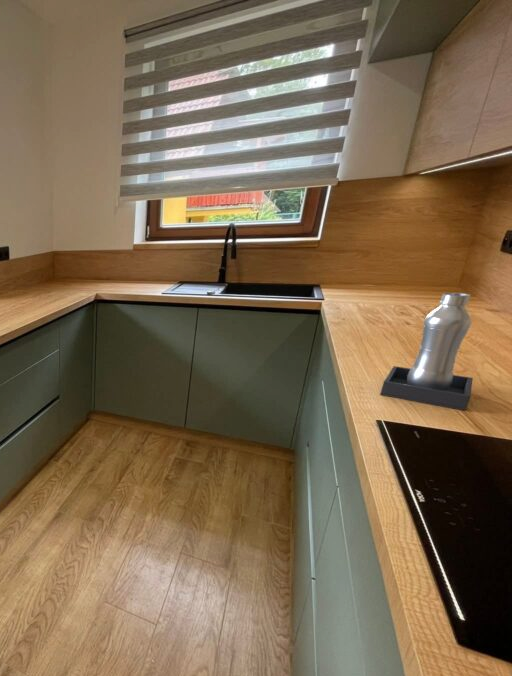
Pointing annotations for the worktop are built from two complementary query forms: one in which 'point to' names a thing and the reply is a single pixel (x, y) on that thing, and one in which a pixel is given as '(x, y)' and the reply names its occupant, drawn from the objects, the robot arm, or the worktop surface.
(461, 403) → the tray
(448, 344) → the silver bottle
